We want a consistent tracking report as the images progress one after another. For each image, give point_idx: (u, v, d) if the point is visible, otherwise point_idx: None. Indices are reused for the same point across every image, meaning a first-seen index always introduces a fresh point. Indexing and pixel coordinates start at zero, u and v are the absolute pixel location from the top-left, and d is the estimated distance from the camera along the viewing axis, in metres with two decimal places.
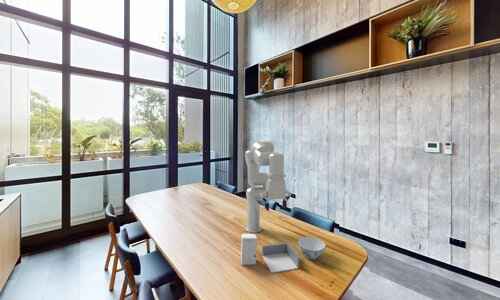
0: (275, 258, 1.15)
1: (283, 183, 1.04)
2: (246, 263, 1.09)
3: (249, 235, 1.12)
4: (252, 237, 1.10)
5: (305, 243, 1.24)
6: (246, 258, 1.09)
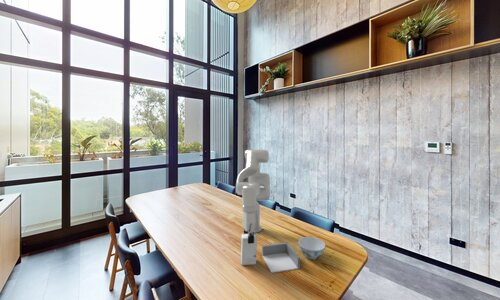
0: (275, 258, 1.15)
1: None
2: (246, 263, 1.09)
3: None
4: None
5: (305, 243, 1.24)
6: (246, 258, 1.09)
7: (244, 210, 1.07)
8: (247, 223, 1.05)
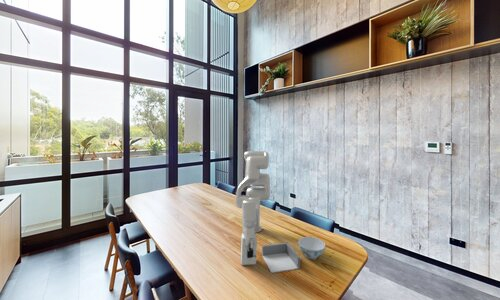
0: (275, 258, 1.15)
1: None
2: (246, 263, 1.09)
3: None
4: None
5: (305, 243, 1.24)
6: (246, 258, 1.09)
7: (244, 225, 1.08)
8: (247, 238, 1.06)
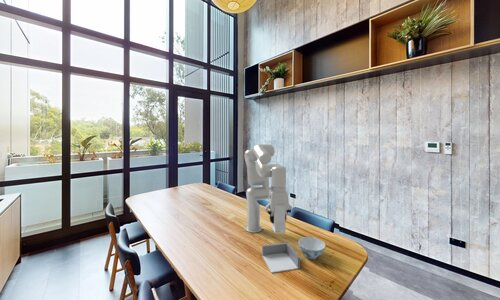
0: (275, 258, 1.15)
1: None
2: None
3: None
4: None
5: (305, 243, 1.24)
6: None
7: (284, 191, 1.06)
8: None
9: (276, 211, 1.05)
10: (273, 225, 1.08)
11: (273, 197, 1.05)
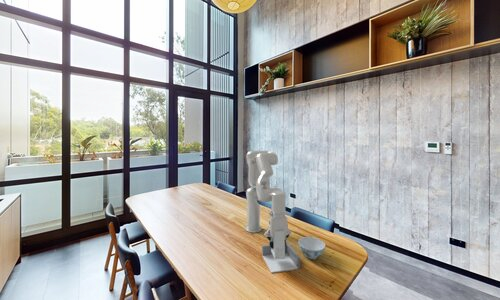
0: None
1: None
2: None
3: None
4: None
5: (305, 243, 1.24)
6: None
7: (284, 217, 1.07)
8: (287, 226, 1.09)
9: (276, 237, 1.06)
10: (273, 250, 1.09)
11: (273, 223, 1.06)
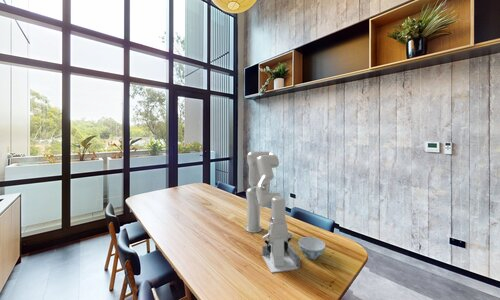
0: None
1: None
2: None
3: None
4: None
5: (305, 243, 1.24)
6: None
7: (284, 222, 1.07)
8: (287, 232, 1.09)
9: (275, 245, 1.06)
10: (272, 258, 1.09)
11: (272, 228, 1.06)
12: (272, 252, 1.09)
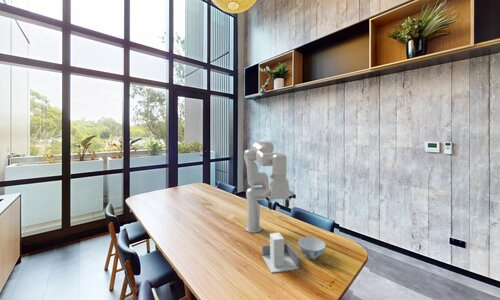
0: None
1: None
2: None
3: (276, 235, 1.10)
4: (279, 234, 1.12)
5: (305, 243, 1.24)
6: None
7: (285, 179, 1.07)
8: (288, 189, 1.09)
9: (275, 245, 1.06)
10: (272, 258, 1.09)
11: (274, 185, 1.06)
12: (272, 252, 1.09)
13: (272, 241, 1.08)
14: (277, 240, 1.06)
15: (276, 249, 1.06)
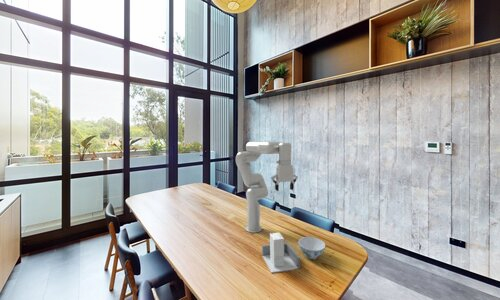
0: None
1: None
2: None
3: (276, 235, 1.10)
4: (279, 234, 1.12)
5: (305, 243, 1.24)
6: None
7: (290, 164, 1.22)
8: (293, 173, 1.24)
9: (275, 245, 1.06)
10: (272, 258, 1.09)
11: (280, 169, 1.21)
12: (272, 252, 1.09)
13: (272, 241, 1.08)
14: (277, 240, 1.06)
15: (276, 249, 1.06)
